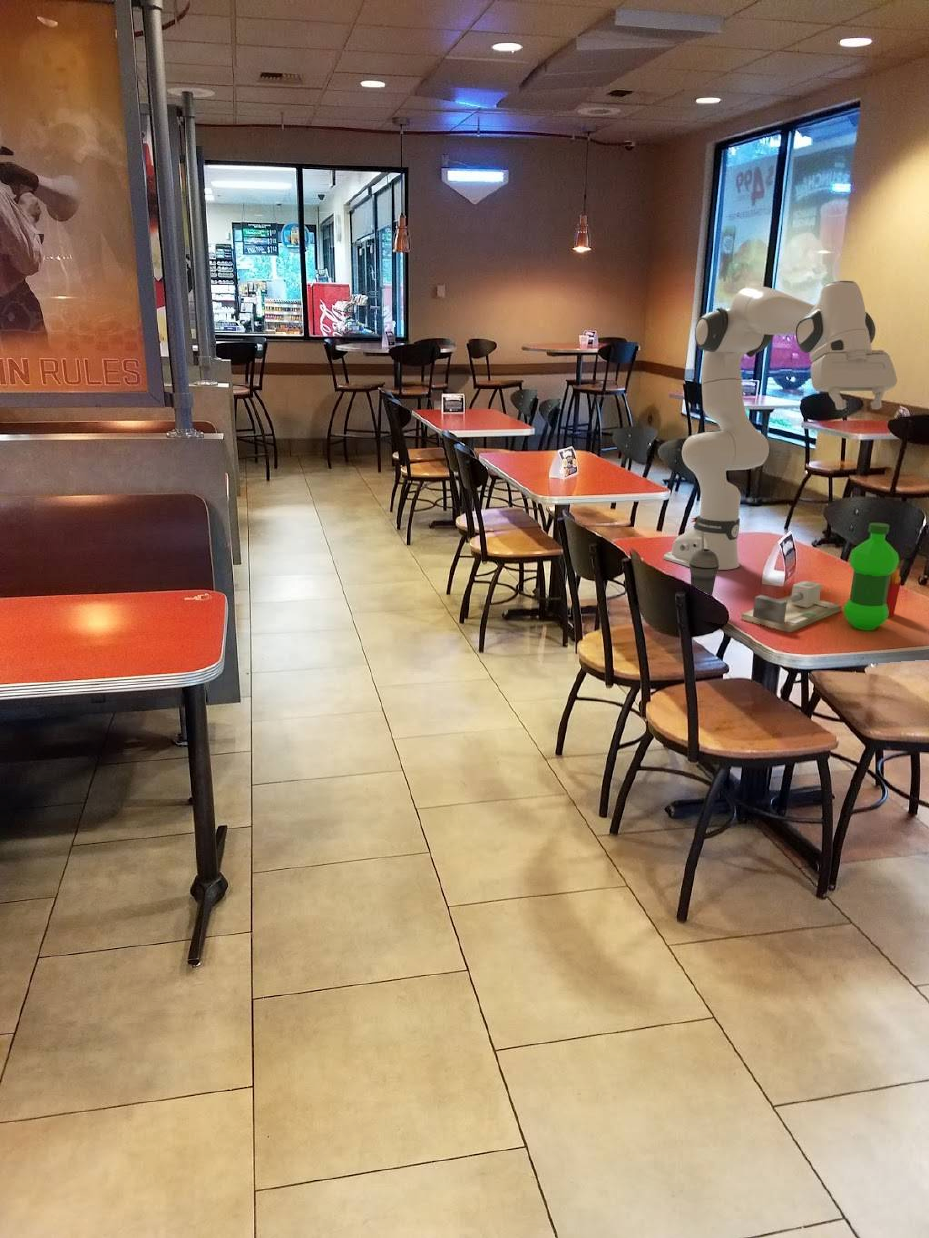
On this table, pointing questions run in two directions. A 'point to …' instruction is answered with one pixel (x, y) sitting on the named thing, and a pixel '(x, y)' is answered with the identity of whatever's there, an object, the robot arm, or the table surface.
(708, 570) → the beverage cup
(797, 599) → the block
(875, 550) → the plastic bottle
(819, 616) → the frame
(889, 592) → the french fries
